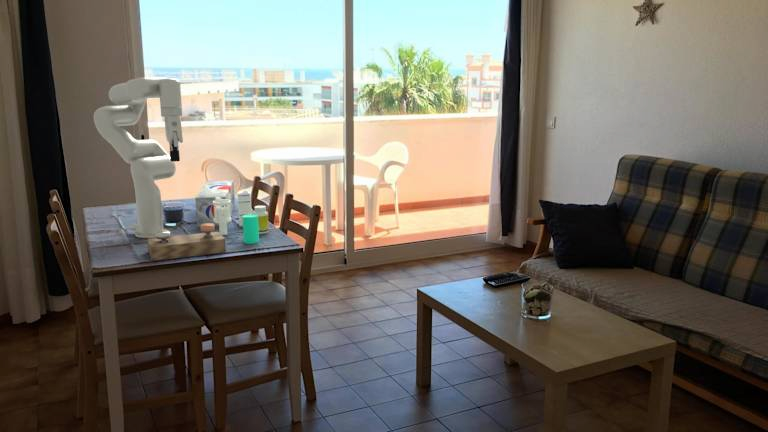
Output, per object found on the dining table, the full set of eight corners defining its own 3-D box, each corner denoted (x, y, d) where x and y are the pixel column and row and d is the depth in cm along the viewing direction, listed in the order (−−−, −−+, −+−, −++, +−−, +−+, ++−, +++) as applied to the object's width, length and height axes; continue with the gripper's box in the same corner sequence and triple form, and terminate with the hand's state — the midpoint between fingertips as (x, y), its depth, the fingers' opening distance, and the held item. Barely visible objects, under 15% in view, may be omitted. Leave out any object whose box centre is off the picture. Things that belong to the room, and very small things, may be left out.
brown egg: (203, 245, 238) (201, 227, 236) (200, 242, 242) (199, 224, 240) (216, 244, 240) (215, 225, 238) (214, 241, 244) (212, 222, 242)
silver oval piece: (158, 253, 231) (156, 234, 229) (156, 250, 235) (154, 231, 234) (172, 252, 233) (171, 232, 231) (170, 248, 238) (169, 229, 236)
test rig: (152, 260, 227) (151, 247, 226) (148, 252, 238) (147, 238, 237) (225, 251, 238) (225, 238, 237) (219, 243, 249) (218, 231, 248)
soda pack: (208, 207, 313) (207, 179, 310) (235, 207, 315) (234, 179, 312) (196, 228, 274) (194, 196, 271) (227, 227, 276) (225, 195, 272)
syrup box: (252, 225, 277) (251, 192, 274) (238, 226, 276) (237, 193, 272) (252, 222, 282) (251, 190, 279) (238, 223, 281) (237, 191, 278)
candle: (255, 244, 249) (254, 213, 246) (241, 243, 250) (239, 213, 247) (261, 240, 254) (260, 210, 252) (247, 239, 256) (245, 209, 253)
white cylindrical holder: (225, 231, 268) (223, 195, 265) (235, 233, 264) (233, 198, 260) (211, 234, 263) (208, 198, 259) (221, 237, 258) (219, 200, 255)
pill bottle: (271, 231, 267) (270, 205, 265) (263, 235, 262) (261, 208, 259) (259, 230, 270) (258, 204, 267) (250, 233, 264) (249, 207, 262)
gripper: (185, 113, 234) (188, 163, 238) (178, 110, 247) (182, 158, 251) (163, 113, 231) (167, 164, 235) (158, 111, 244) (162, 159, 248)
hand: (175, 161), depth 243 cm, fingers closed
